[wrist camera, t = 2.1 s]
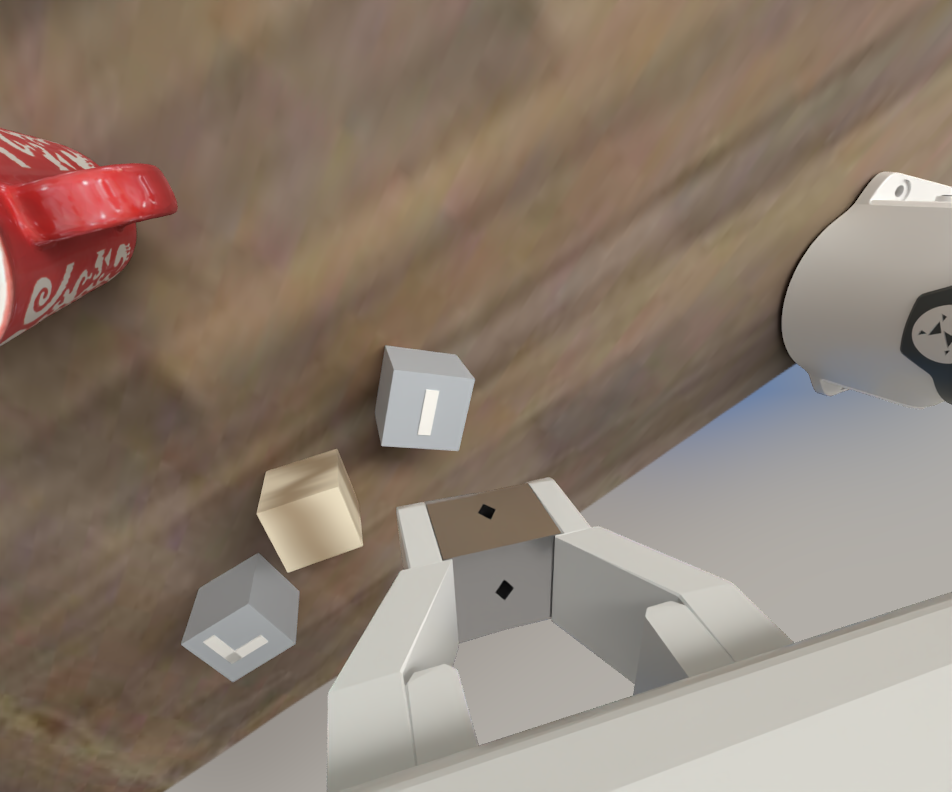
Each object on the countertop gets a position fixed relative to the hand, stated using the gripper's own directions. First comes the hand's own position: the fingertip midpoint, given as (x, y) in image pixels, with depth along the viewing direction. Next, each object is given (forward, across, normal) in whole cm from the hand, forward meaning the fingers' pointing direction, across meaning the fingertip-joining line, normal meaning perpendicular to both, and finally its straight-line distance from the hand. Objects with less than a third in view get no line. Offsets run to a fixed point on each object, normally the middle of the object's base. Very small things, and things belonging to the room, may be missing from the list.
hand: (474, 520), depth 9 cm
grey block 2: (+24, -2, +7) cm, 25 cm away
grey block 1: (+24, +12, +22) cm, 35 cm away
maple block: (+24, +6, +14) cm, 29 cm away
